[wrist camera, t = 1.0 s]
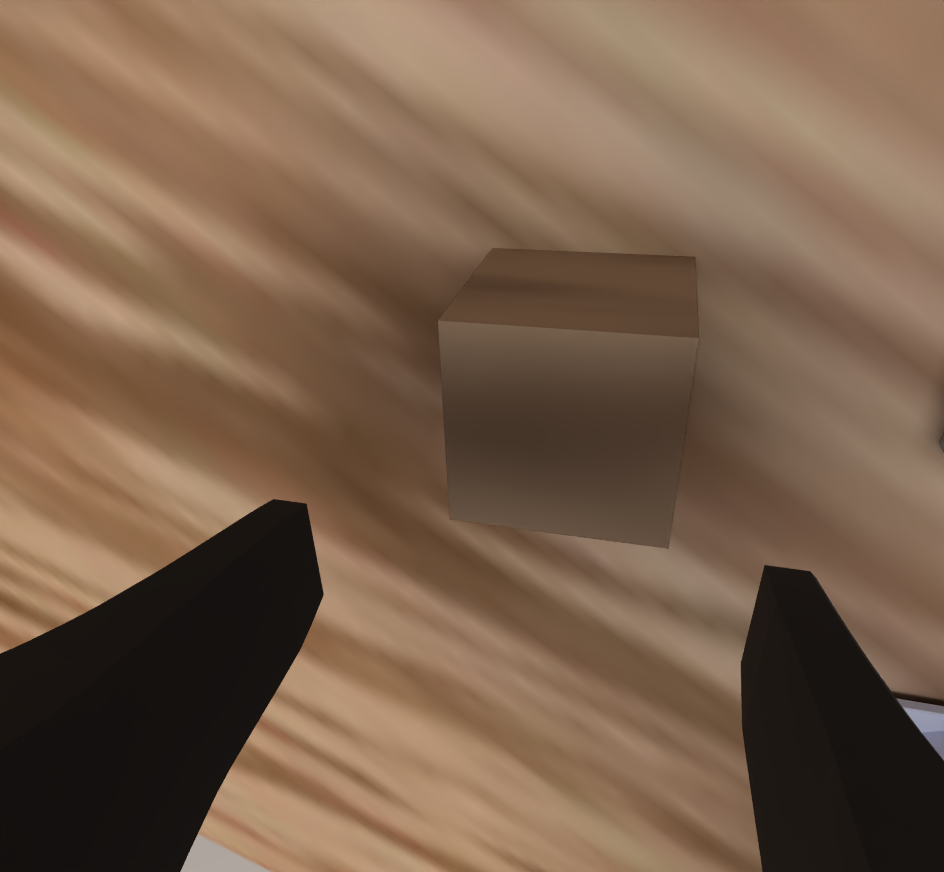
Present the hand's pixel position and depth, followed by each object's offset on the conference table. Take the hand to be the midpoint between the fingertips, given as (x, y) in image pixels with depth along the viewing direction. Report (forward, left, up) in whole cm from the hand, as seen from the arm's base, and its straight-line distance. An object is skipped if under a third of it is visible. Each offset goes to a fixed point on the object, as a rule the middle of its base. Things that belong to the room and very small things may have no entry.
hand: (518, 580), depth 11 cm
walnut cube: (0, 0, -9) cm, 9 cm away
